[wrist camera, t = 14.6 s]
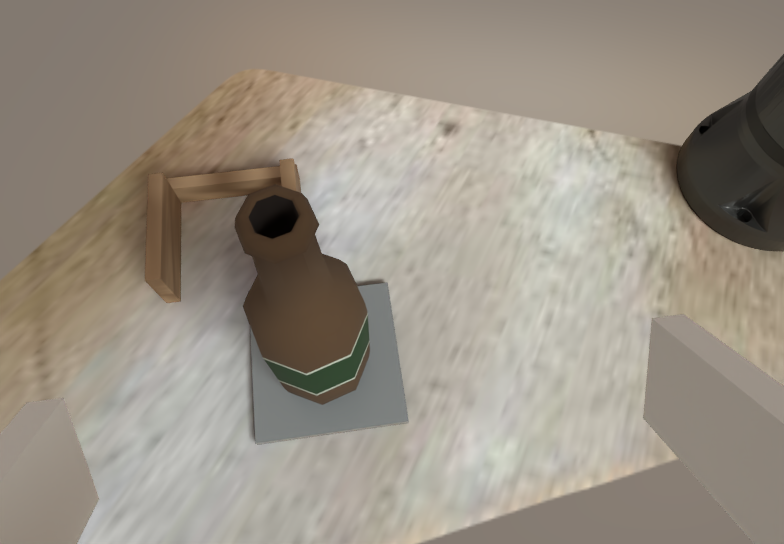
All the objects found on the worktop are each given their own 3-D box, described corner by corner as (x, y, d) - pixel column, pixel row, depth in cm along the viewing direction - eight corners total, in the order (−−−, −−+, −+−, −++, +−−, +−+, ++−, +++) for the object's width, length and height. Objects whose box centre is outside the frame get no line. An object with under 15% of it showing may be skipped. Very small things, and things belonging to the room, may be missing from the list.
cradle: (299, 178, 55) (292, 147, 50) (309, 285, 50) (302, 261, 46) (168, 193, 54) (148, 162, 49) (166, 303, 50) (144, 280, 45)
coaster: (387, 286, 51) (387, 282, 50) (408, 423, 46) (408, 421, 45) (250, 303, 50) (248, 299, 49) (257, 444, 45) (255, 443, 44)
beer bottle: (369, 313, 49) (360, 139, 27) (371, 405, 46) (363, 294, 24) (277, 316, 48) (192, 143, 26) (273, 409, 45) (173, 300, 23)
